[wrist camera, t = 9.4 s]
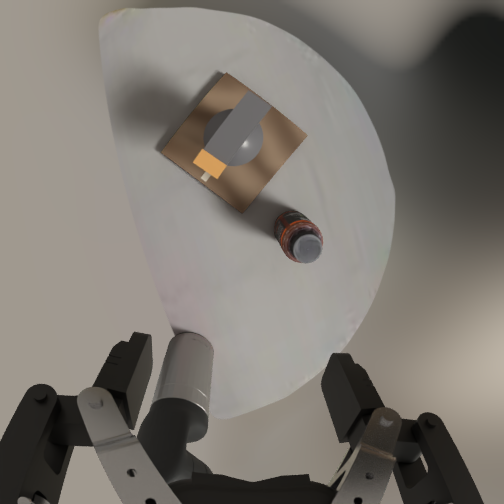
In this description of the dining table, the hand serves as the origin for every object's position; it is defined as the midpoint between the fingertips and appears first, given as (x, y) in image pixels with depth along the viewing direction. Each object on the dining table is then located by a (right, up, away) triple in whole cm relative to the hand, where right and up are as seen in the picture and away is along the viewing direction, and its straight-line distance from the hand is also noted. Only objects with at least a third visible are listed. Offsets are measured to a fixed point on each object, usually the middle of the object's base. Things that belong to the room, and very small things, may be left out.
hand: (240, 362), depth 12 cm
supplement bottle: (+7, +9, +36) cm, 38 cm away
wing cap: (-2, +19, +22) cm, 29 cm away
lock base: (-2, +22, +31) cm, 38 cm away
